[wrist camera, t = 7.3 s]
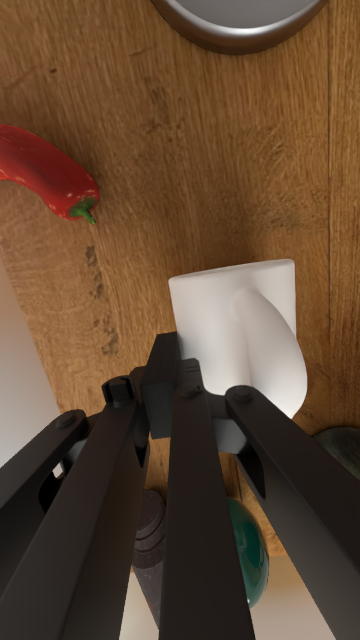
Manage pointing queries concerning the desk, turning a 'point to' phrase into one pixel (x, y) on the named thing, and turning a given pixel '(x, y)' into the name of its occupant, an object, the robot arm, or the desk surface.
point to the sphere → (250, 550)
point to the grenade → (150, 550)
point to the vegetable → (47, 173)
